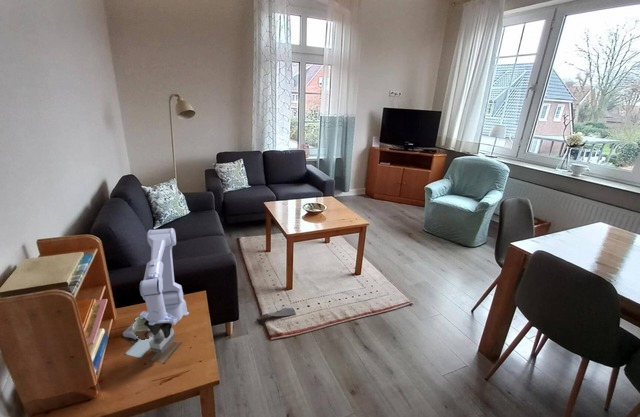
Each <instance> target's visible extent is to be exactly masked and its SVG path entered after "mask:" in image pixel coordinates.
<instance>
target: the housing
mask: <svg viewBox="0 0 640 417" xmlns="http://www.w3.org/2000/svg"><path fill="white" fill-rule="evenodd" d="M152 337H153V339H152V340H151V341H150V342H149V344H150V347H151V348H150V349H151V350H150V351H151V352H153V353H154V352H158V353H163V351H164V350H165V349H166V348H167V346H168V345H169V344H170V343H171V342H172V341H173V340H174V339H175V338H176V335H175V330H174V328H173V327H171V331H170V335H169V337H168V338H165V337H164V333H163V331H162V330H161V329H159V332H158V333H157V334H156V335H155V336H154V335H153V336H152Z"/></svg>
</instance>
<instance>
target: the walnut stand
mask: <svg viewBox="0 0 640 417" xmlns="http://www.w3.org/2000/svg"><path fill="white" fill-rule="evenodd" d="M181 344H182V342H177V341H173V340H172V342H171V343H170V344H169V345H168V346H167V348H166V349H165V350H164V351H163V353H158V352H153V353H152V355H150V356H149V358H148V360H149V361H153V362H157V363H161V364H166V363H167V361H168V360H170V358H171V357H172V355H173V354H174V353H175V352H176V350H177V349H178V348H179V347H180V346H181Z"/></svg>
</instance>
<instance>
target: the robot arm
mask: <svg viewBox="0 0 640 417" xmlns="http://www.w3.org/2000/svg"><path fill="white" fill-rule="evenodd" d="M146 239H147V243H148V245H149V246H150V248H151V250H150V251H151V252H150V261H148V262H147V263H146V268H145V272H144V276H143V280H141V281H140V283H139V293H140V296H141V297H142V299H143V300H144V301H145V305H146V309H147V311H145V310H144V311H141V313H140V314H139V318H140V319H143V318H145V319H146V321H145V322H144V325H145V326H147V327H148V328H149V329H150V330H149V331H150V332H151V334H152V335H153V337H154V336H155V335H156V334H157V333H158V332H159V331H160V330H162V331H163V333H164V337H165V338H168V337H169V335H170V331H171V328H173V327H172V326H175V325H176V324H177V323H178V322H179V321H180V320H181V319H183V316H188V315H189V314H190V312H189V311H188V307H187V302H186V300H185V299H184V292H183V287H182V285H181V284H179V283H177V282H175V273H174V262H173V261H174V260H173V247H174V246H176V245H177V236H176V230H175V228H173V227H171V228H160V229H149V230H148V231H147V233H146ZM159 324H161V325H159Z"/></svg>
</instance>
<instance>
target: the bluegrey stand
mask: <svg viewBox="0 0 640 417" xmlns="http://www.w3.org/2000/svg"><path fill="white" fill-rule="evenodd" d="M149 337H150V338H149V339H145V340H141V339H139V340H136V341H137V342H135V343H134V344H133V345H132V346H131V347H130V348H129V349H128V350H127V351H126V352H125V354H124V355H127V356H131V357H135V358H139V359H142V357H143V356H144V355H145V354H146V353H147V352H148V351H149V350H150V349H151V347H150V344H149V342H150V341H151V340H152V339H153V337H154V336H149Z"/></svg>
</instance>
